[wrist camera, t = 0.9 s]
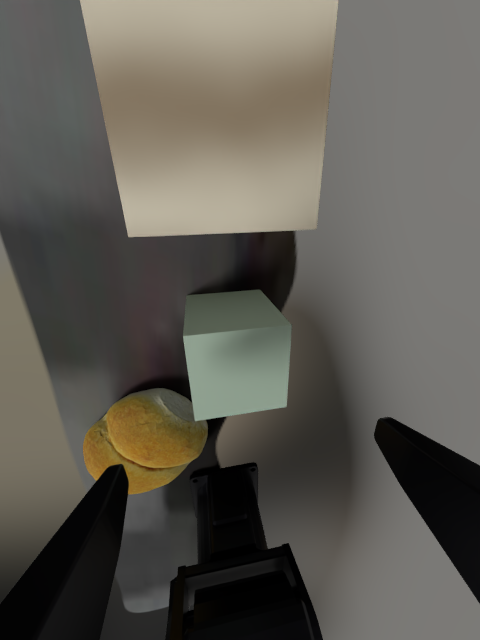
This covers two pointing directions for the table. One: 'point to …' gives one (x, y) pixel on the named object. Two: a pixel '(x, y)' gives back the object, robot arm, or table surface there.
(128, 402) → the bread roll
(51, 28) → the table surface
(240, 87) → the birch base
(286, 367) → the green block
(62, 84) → the table surface
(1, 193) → the table surface
